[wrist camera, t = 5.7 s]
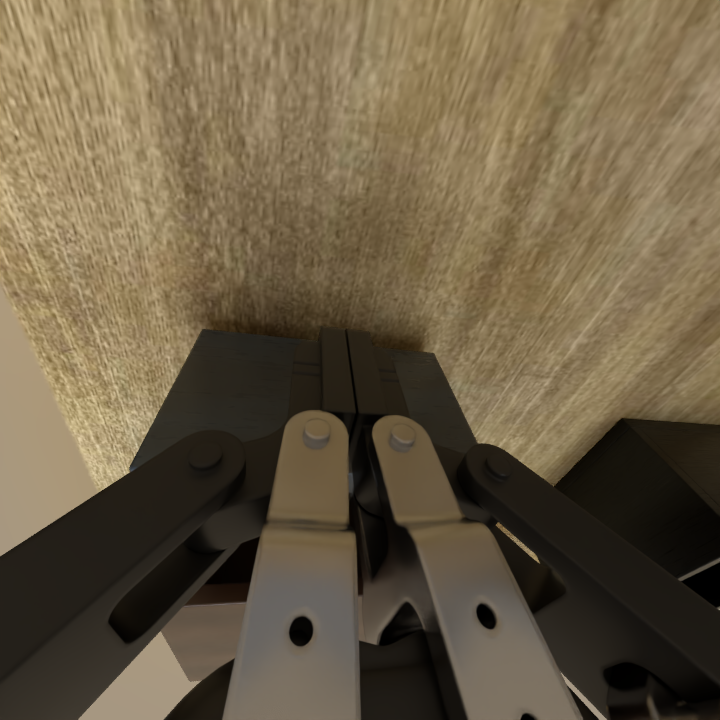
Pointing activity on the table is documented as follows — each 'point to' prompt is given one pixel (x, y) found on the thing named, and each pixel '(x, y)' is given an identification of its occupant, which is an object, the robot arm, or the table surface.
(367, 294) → the table surface
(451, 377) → the table surface
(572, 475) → the metal box
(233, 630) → the drawer cabinet
